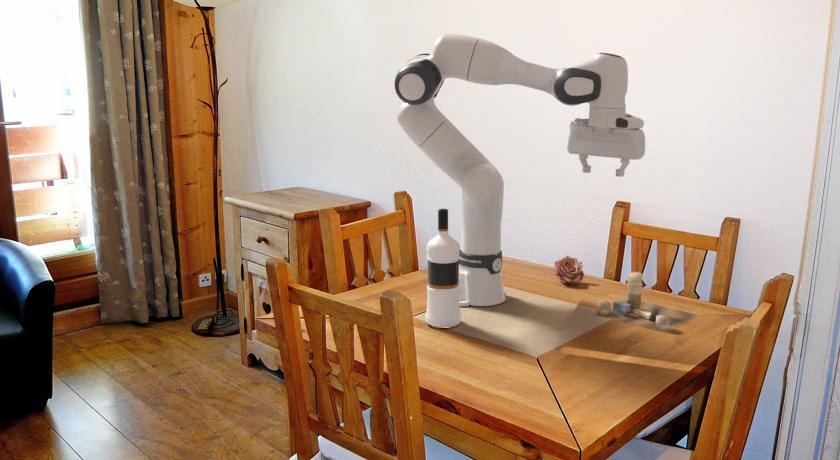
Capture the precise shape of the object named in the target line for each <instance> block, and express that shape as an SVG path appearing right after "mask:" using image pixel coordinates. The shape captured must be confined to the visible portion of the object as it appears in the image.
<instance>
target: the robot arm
mask: <svg viewBox="0 0 840 460" xmlns="http://www.w3.org/2000/svg"><path fill="white" fill-rule="evenodd" d="M448 78H452V79H457V80H461V81H465V82H469V83H473V84H476V85H477V84H478V85H485V86H487V85H488V86H501V85H516V86H517V85H518V86H523V87H527V88H529V89H533V90H537V91H541V92H545V93H547V94H548V95H551V96H552V97H554V98H555V99H556V100H557V101H558V102H560V103H561V104H563V105H565V106H571V107H574V106H580V105H581V104H585V103H586V104H589V111H588V118H580V117H576V118H575V119H574V120H572V121H571V122H570V124H569V134H568V135H569V136H568V141H567V147H566V148H567V152H568V153H569V154H570V155H579V157H578V159H579V162H580V163H581V166H582V173H585V174H589V173H591V172H592V170H591V169H592V165H590V164H589V163H588V161H587V159H589V157H591V156H592V157H603V158H613V159H620V161H619V162H620V163H621V165H620V167H619V168H616V169H615V176H616V177H620V178H622V177H624V176H625V170H626V169H627V167H628V166H629V164H631V163H630V162H631V160H633V161H634V160H635V161H636V160H641V159H642V158H643V157H644V156H645V153H646V134H645V132H644V131H643V130H642V129H643V127H644V125H645V122H644V120H643V118H640V117H637V116H634V115H633V114H629V113H627V112H626V111H627V104H626V95H627V93H628V86H629V84H628V83H629V68H628V63H627V61H626V59H625V58H624V57H622V55H618V54H614V53H608V52H607V53H606V52H598V53H595V55H594V56H592V57H591V58H588V59H587V60H584V61H583V62H580V63H579V64H575V65H573V66H569V67H565V68H552V67H549V66H548V67H547V66H543V65H540V64H537V63H533V62H529V61H526V60H524V59H522V58H520V57H518V56H516V55H515V54H513V53H512V52H510V51H509V50H508V49H506V48H505V47H503V46H501V45H499V44H497V43H495V42H492V41H489V40H486V39H483V38H479V37H474V36H470V35H466V34H465V35H464V34H455V33H445V34H441V35H440V36H439V37H437V38H436V39H435V41H434V42H433V44H432V47H431V50H430V53H420V54H417V55H416V56H414V57H412V58H410V59H409V60H407V61H406V62H405V63H404V65H403V66H402V67H401V68H400V69H399V70H398V71H397V73H396V75H395V77H394V90H395V94H396V95H397V96H398V98H399V99H400V100H401V101H402V104H401V105H400V107H399V108H398V110H397V115H396V117H397V118H396V119H397V123H398V124H399V125H400V127H401V129H402V130H403V131H404V132H405V133H406V135H407V136H408V138H409V139H410V140H411V141H412V142H413V144H415V145H416V146H417V147H418V149H420V150H421V152H423V153H424V155H426V157H428V159H430V161H432V163H433V164H435V166H436V167H437V168H438V169H439V170H441V171H442V172H443V173H445V175H446V176H448V177H449V178H450V179H451V180H452V181H453V182H454V183H455V184H456V185H458V187H459V188H460V189H462V194H461V196H462V198H461V199H462V200H461V202H462V203H461V204H462V205H461V245H460V246H461V247H460V252H459V256H460V259H459V286H460V288H459V305H460V307H469V305H471V306H472V307H473V306H474V307H488V306H489V307H490V306H496V305H500V304H502V303H504V302H505V301H506V294H505V291H504V286H503V279H502V278H503V277H502V265H503V251H502V250H501V248H502V247H501V245H502V218H503V207H504V189H505V183H504V179H503V176H502V175H501V173H500V171H498V169H497V167H496V166H495V165H494V164H493V163H492V162H491V161H490V160H489V159H488V158H487V157H486V156H485V155H484V154H483V153H482V152H481V151H480V149H478V148H477V147H476V146H475V145H474V144H473V143H472V141H470V140H469V139H468V138H467V137H466V135H464V134H463V133H462V132H461V131H460V130H459V129H458V128H457V127H456V125H454V124H453V123H452V122H451V121H450V120H449V119H448V118H447V117H446V116H445V114H443V113H442V112H441V111H440V109H439V108H438V107H437V105H436V103H435V99H436V97H438V94H439V91H440V89H441V88H442V86H443V85H444V82H445V79H448ZM471 306H470V307H471Z"/></svg>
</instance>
